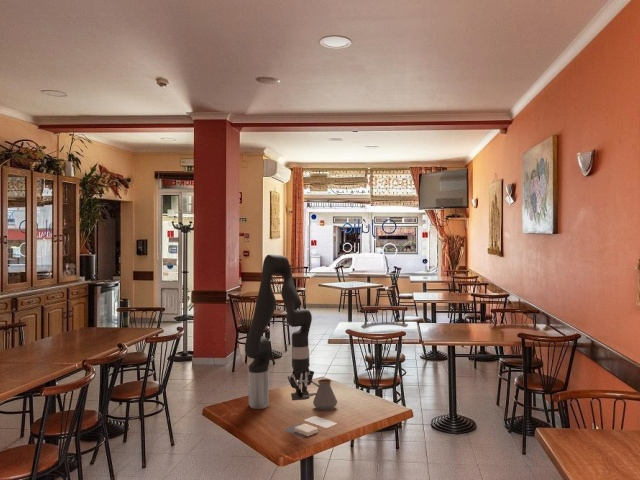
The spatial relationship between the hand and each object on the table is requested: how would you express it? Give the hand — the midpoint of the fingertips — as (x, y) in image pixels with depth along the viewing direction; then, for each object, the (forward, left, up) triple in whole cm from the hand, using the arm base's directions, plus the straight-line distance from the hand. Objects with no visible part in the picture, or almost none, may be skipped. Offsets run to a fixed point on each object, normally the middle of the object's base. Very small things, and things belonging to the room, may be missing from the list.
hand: (301, 396), depth 221 cm
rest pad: (+2, +8, -13) cm, 16 cm away
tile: (+2, -4, -12) cm, 12 cm away
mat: (+3, -4, -13) cm, 14 cm away
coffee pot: (-15, +22, -13) cm, 30 cm away
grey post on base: (+1, 0, -1) cm, 1 cm away
